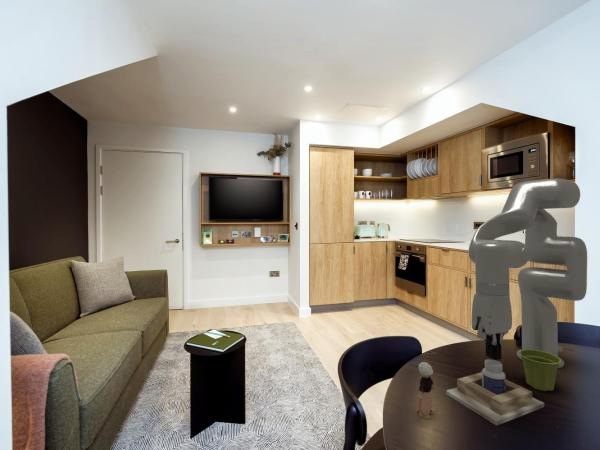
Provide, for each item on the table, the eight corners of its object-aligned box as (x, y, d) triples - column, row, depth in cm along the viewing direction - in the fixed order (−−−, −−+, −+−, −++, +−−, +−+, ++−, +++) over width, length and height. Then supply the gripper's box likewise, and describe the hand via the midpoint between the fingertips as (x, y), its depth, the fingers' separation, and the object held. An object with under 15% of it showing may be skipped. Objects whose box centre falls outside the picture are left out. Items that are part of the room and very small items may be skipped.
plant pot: (561, 399, 79) (560, 366, 79) (517, 386, 85) (517, 356, 85) (562, 385, 86) (561, 355, 86) (521, 374, 92) (521, 346, 92)
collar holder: (490, 380, 88) (490, 367, 88) (544, 406, 76) (544, 391, 76) (446, 394, 82) (445, 379, 82) (496, 425, 69) (496, 408, 69)
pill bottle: (509, 403, 76) (509, 368, 76) (487, 400, 77) (486, 366, 77) (500, 391, 81) (499, 359, 81) (479, 389, 82) (478, 357, 82)
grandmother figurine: (420, 404, 77) (420, 355, 77) (436, 409, 75) (436, 359, 75) (413, 420, 71) (412, 367, 71) (430, 426, 69) (429, 371, 69)
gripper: (497, 283, 85) (498, 347, 85) (459, 289, 79) (460, 357, 80) (525, 288, 78) (526, 358, 78) (486, 295, 72) (487, 370, 73)
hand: (493, 357), depth 79 cm, fingers closed
